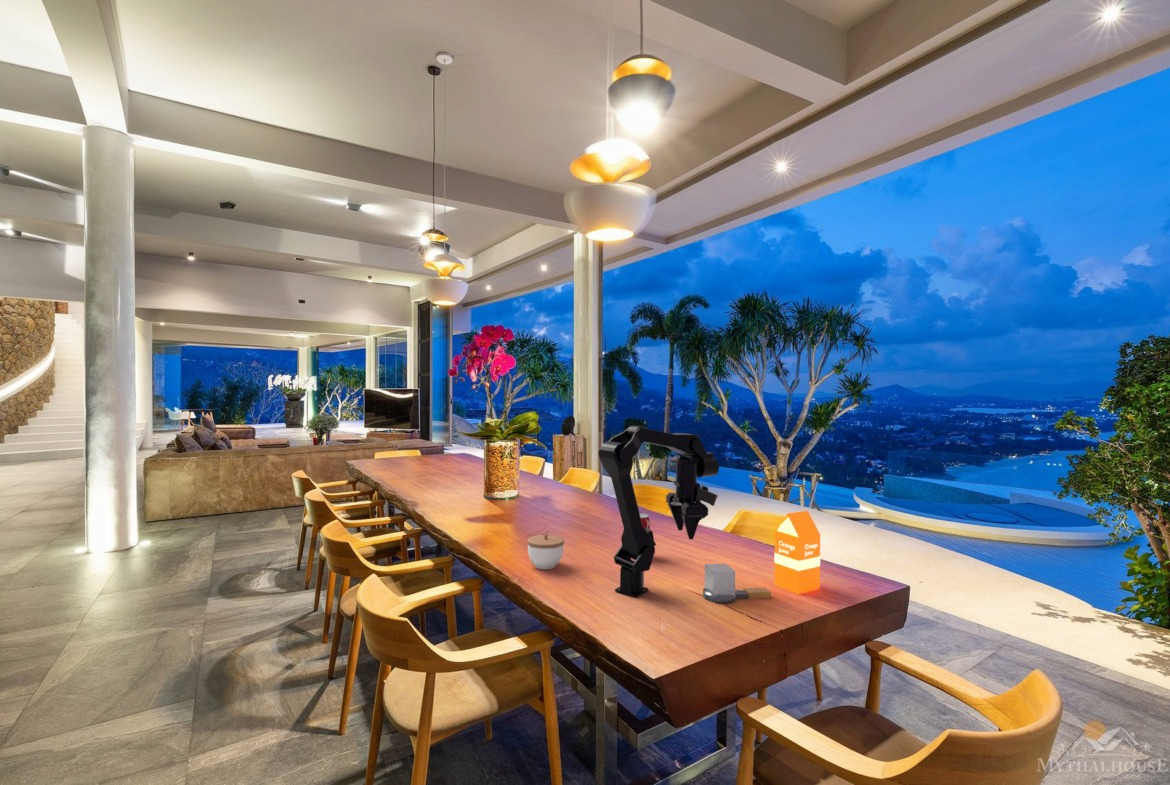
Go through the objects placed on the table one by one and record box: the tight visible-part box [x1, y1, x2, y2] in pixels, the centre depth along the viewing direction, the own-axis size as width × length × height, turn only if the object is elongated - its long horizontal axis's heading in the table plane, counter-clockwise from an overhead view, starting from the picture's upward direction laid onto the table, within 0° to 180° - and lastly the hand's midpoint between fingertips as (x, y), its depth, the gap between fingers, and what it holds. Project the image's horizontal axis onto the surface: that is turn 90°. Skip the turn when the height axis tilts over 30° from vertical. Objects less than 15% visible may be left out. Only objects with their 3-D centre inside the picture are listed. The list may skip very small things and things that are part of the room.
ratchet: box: [702, 587, 772, 605], centre depth 126 cm, size 17×8×4 cm, turn 97°
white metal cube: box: [704, 563, 736, 596], centre depth 126 cm, size 6×6×6 cm
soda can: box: [639, 512, 651, 530], centre depth 158 cm, size 7×7×13 cm
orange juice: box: [773, 510, 821, 595], centre depth 134 cm, size 8×9×20 cm
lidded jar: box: [527, 533, 565, 570], centre depth 147 cm, size 11×11×9 cm
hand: (685, 534), depth 139 cm, fingers open, 9 cm apart
